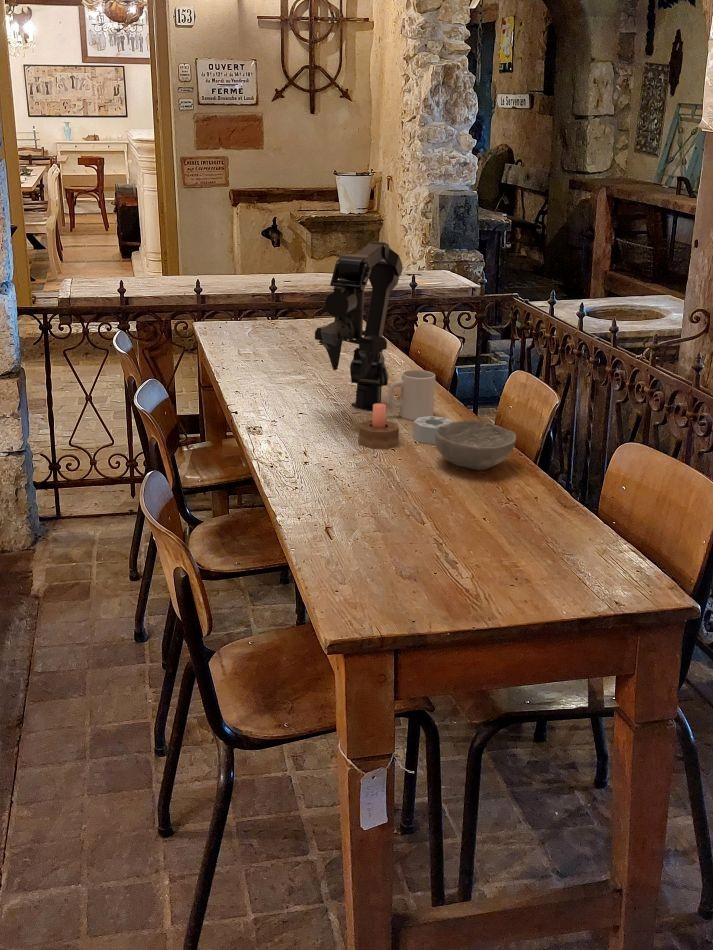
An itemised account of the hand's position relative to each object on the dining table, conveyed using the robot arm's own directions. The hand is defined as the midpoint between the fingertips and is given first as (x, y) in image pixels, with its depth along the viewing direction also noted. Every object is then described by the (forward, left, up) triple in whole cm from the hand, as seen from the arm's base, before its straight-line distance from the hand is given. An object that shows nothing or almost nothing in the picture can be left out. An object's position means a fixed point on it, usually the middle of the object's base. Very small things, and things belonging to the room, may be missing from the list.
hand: (349, 373), depth 250 cm
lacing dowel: (+6, +15, -12) cm, 20 cm away
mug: (-16, +7, -13) cm, 22 cm away
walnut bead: (+6, +15, -12) cm, 20 cm away
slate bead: (-6, +22, -12) cm, 26 cm away
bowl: (+3, +40, -13) cm, 42 cm away
